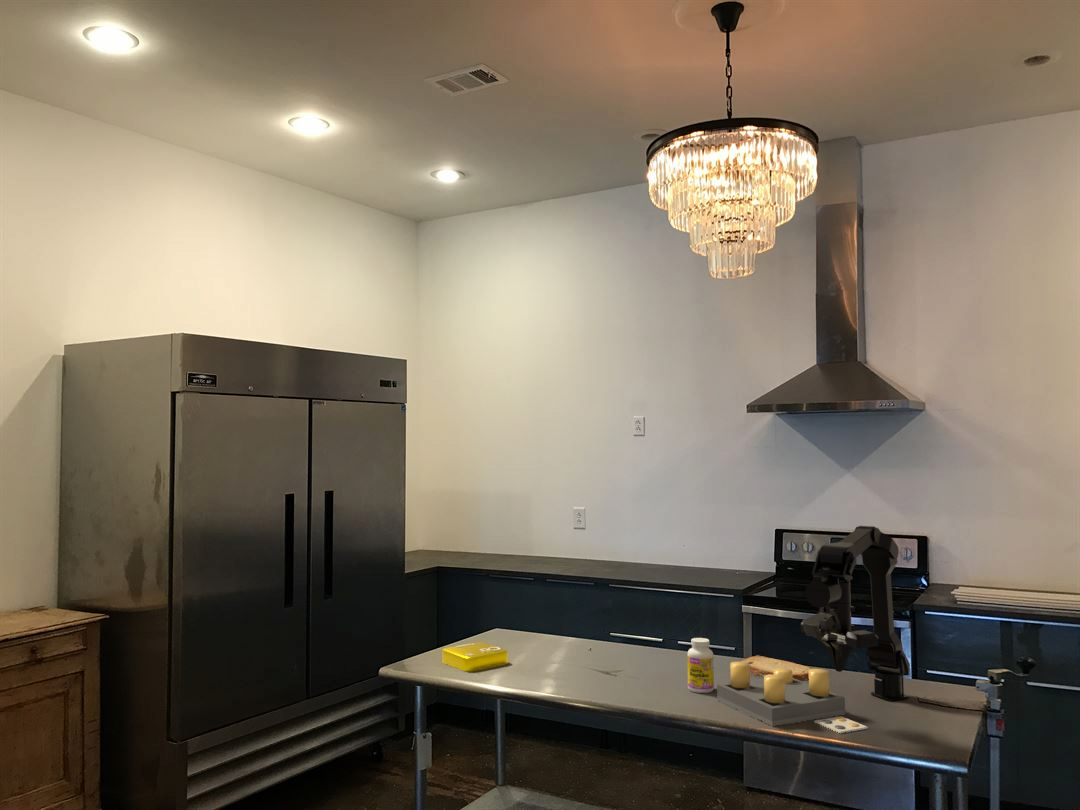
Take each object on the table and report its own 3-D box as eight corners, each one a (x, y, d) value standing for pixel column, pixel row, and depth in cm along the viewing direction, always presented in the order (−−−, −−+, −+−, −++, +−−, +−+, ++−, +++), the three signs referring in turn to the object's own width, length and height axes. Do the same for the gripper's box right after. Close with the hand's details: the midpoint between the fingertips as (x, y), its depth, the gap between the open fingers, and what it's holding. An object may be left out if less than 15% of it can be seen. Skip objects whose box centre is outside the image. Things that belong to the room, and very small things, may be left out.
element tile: (481, 655, 252) (481, 639, 252) (510, 665, 240) (510, 648, 240) (439, 663, 243) (439, 646, 243) (467, 674, 231) (467, 656, 231)
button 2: (776, 696, 193) (775, 673, 193) (789, 701, 188) (788, 678, 189) (760, 698, 191) (759, 675, 191) (773, 704, 187) (772, 680, 187)
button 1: (742, 682, 205) (741, 660, 205) (753, 686, 200) (753, 665, 201) (726, 684, 203) (726, 662, 203) (738, 689, 199) (737, 667, 199)
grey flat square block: (785, 690, 212) (785, 675, 212) (845, 714, 192) (844, 697, 193) (717, 700, 204) (717, 684, 204) (772, 726, 184) (771, 708, 184)
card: (841, 718, 190) (841, 715, 190) (867, 728, 183) (867, 726, 183) (814, 722, 187) (814, 720, 187) (839, 733, 180) (839, 731, 180)
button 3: (784, 688, 210) (784, 667, 210) (796, 693, 205) (796, 671, 206) (770, 690, 208) (769, 669, 208) (781, 695, 204) (781, 673, 204)
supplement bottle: (685, 692, 211) (684, 641, 212) (690, 685, 217) (689, 636, 218) (711, 694, 209) (710, 643, 209) (715, 687, 215) (715, 638, 216)
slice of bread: (820, 680, 223) (820, 666, 223) (759, 684, 219) (758, 670, 219) (787, 664, 240) (787, 651, 240) (730, 667, 236) (729, 654, 237)
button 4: (820, 689, 198) (819, 667, 198) (833, 694, 194) (833, 672, 194) (804, 692, 196) (804, 669, 196) (818, 697, 192) (817, 674, 192)
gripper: (781, 597, 192) (782, 665, 191) (839, 611, 175) (841, 686, 174) (819, 594, 196) (820, 660, 195) (879, 607, 179) (881, 680, 178)
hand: (839, 671), depth 185 cm, fingers closed
